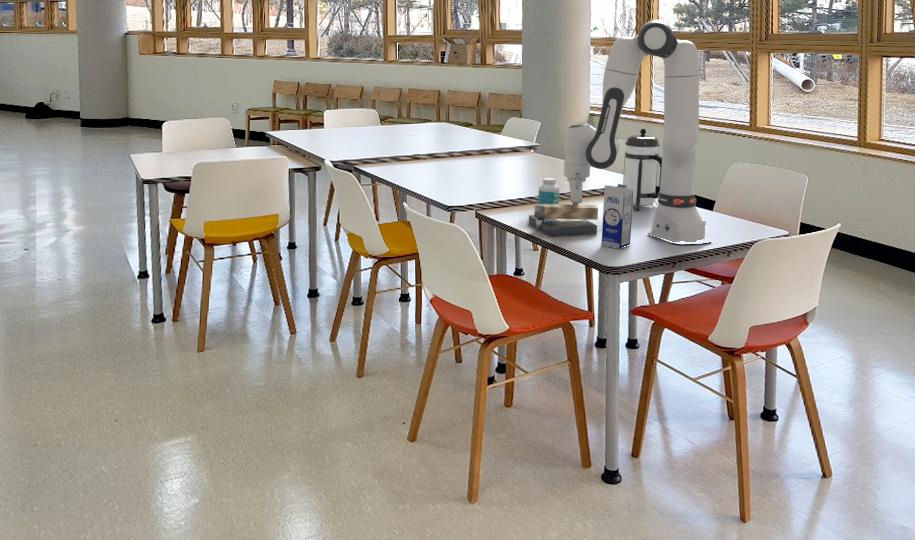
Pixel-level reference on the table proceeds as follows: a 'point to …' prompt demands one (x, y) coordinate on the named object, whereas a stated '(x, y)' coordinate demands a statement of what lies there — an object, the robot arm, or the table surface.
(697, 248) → the table surface
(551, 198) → the pill bottle
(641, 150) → the coffee press
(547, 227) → the panel
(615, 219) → the milk carton
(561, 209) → the tan bar
